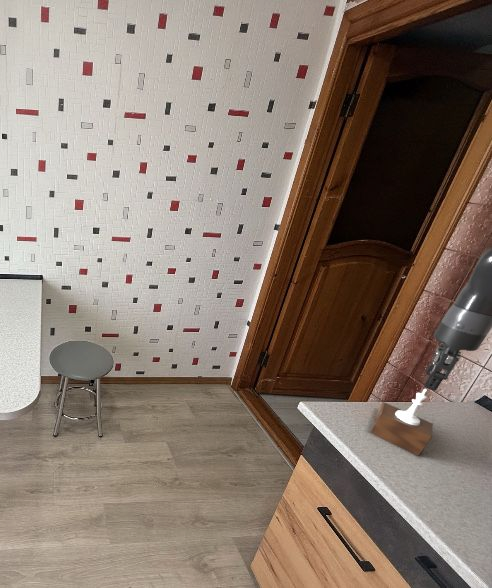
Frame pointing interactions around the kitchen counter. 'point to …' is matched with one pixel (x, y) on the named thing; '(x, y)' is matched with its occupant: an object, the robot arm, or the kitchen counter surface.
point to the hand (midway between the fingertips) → (430, 381)
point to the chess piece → (412, 410)
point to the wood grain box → (401, 430)
